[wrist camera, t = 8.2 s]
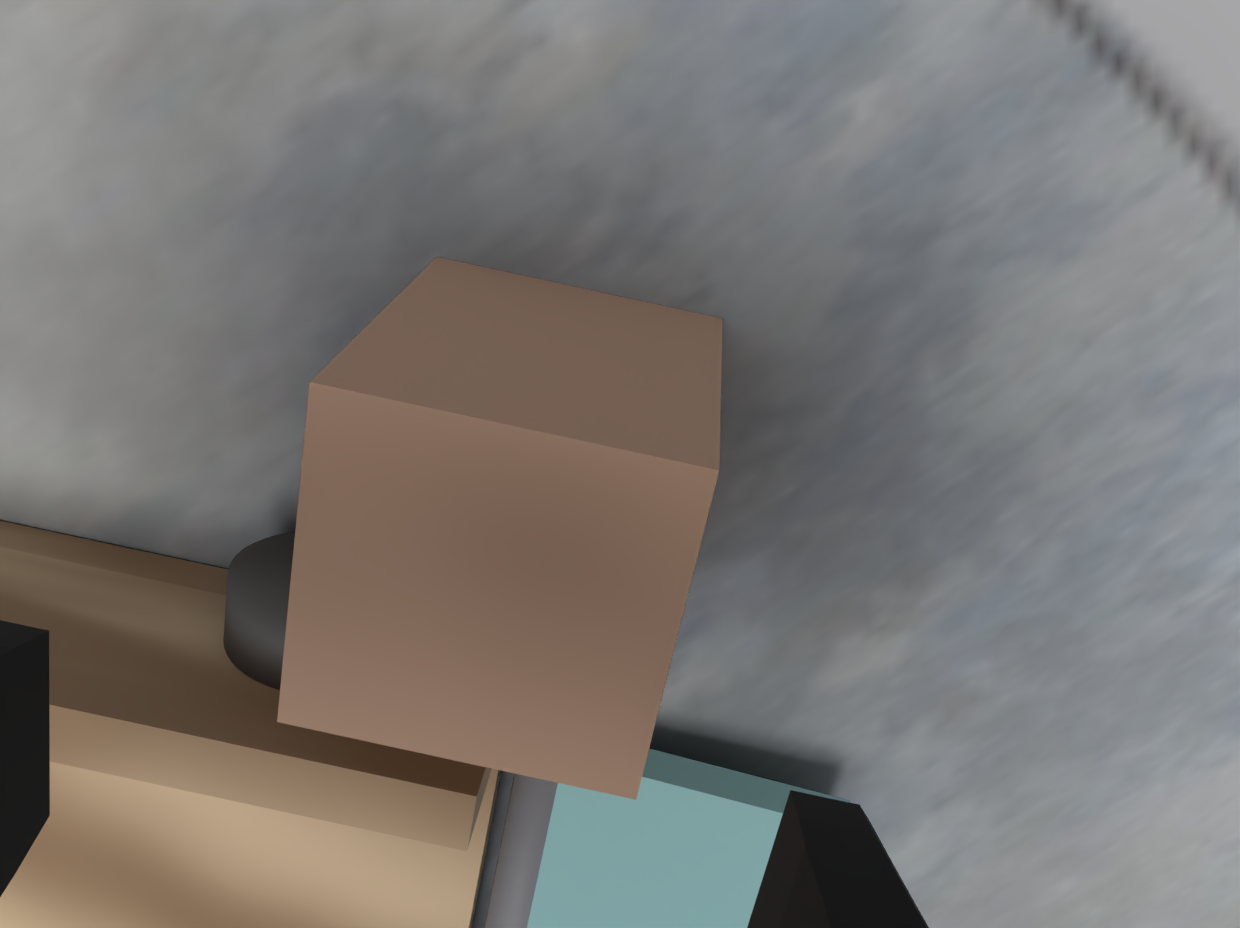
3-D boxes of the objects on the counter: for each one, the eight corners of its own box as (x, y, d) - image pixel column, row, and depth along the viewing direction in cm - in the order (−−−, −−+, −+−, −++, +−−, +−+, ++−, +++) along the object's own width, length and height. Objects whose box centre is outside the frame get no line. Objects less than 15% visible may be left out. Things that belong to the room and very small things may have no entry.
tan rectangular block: (662, 569, 20) (636, 799, 14) (402, 513, 20) (277, 721, 14) (722, 317, 18) (718, 470, 13) (436, 256, 18) (309, 381, 13)
